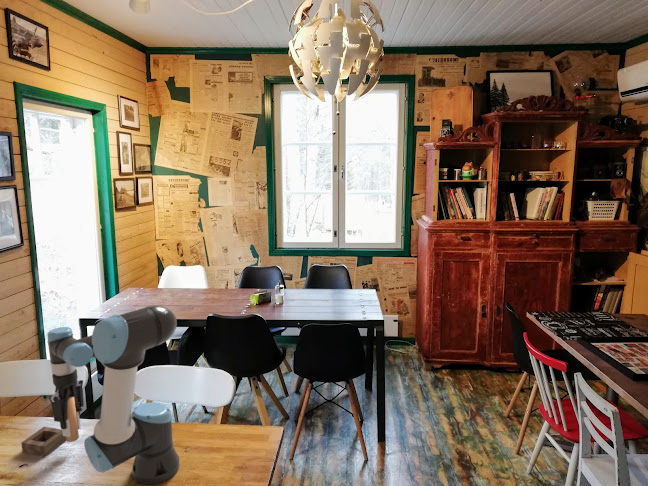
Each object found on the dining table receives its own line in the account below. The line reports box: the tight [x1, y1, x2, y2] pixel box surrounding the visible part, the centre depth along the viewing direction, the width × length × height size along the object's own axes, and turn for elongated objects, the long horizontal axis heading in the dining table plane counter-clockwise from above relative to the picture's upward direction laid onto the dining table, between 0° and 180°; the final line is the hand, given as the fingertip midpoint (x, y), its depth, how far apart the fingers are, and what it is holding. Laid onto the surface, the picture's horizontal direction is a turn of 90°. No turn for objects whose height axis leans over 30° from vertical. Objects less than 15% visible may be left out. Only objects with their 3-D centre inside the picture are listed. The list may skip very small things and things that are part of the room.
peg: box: [65, 396, 80, 443], centre depth 163 cm, size 4×4×16 cm
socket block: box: [20, 426, 67, 458], centre depth 168 cm, size 10×10×4 cm
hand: (71, 431), depth 164 cm, fingers closed on peg, 4 cm apart
